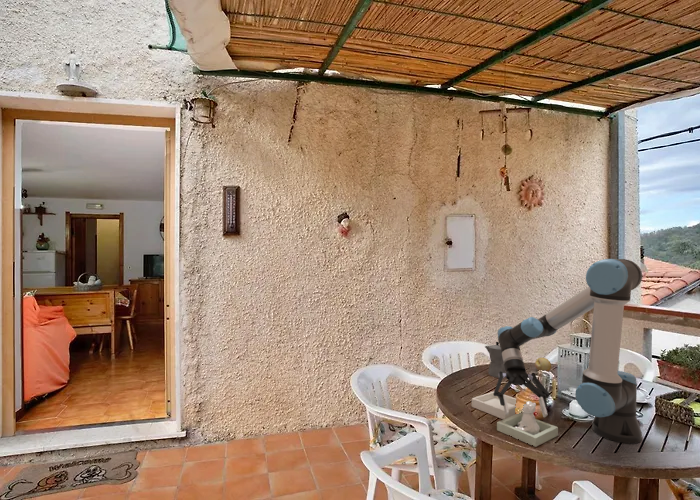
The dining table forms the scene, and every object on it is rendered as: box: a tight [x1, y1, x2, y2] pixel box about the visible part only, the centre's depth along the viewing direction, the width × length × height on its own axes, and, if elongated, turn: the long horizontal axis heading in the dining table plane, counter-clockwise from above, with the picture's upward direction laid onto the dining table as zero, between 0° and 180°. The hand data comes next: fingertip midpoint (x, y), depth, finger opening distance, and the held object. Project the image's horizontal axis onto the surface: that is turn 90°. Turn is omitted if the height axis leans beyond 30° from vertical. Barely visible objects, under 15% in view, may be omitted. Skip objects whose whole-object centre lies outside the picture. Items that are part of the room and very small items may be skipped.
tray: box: [471, 390, 517, 420], centre depth 166 cm, size 16×16×4 cm
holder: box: [496, 413, 559, 448], centre depth 144 cm, size 15×15×3 cm
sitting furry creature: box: [514, 400, 540, 435], centre depth 144 cm, size 10×9×12 cm
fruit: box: [534, 357, 552, 372], centre depth 218 cm, size 8×8×8 cm
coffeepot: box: [484, 341, 506, 378], centre depth 211 cm, size 15×9×18 cm, turn 59°
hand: (526, 415), depth 144 cm, fingers open, 13 cm apart
